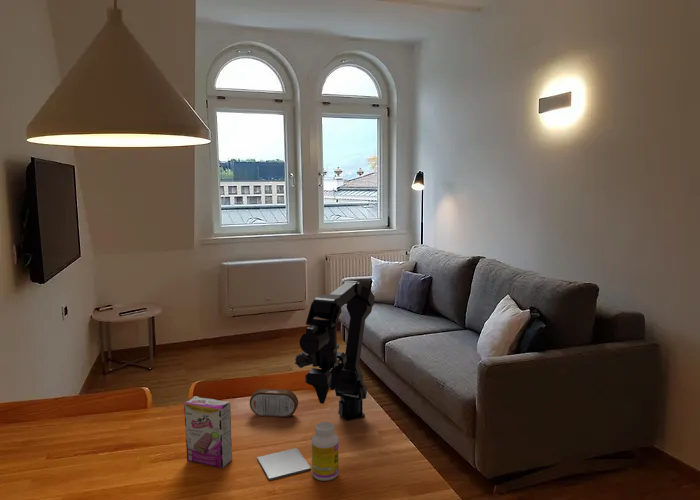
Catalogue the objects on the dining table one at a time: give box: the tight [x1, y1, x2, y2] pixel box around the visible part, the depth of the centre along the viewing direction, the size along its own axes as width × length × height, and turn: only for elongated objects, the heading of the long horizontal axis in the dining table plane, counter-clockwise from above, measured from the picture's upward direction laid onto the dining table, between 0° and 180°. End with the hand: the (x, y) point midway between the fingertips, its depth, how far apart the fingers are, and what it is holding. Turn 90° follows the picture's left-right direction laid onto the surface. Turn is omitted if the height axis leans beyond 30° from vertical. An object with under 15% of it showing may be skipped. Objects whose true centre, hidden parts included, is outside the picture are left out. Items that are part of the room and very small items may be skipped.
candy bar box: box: [183, 395, 233, 469], centre depth 138 cm, size 11×5×16 cm, turn 71°
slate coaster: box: [256, 447, 312, 481], centre depth 137 cm, size 11×11×1 cm
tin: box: [249, 388, 299, 418], centre depth 164 cm, size 15×3×8 cm, turn 84°
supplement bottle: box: [311, 421, 340, 482], centre depth 131 cm, size 7×7×13 cm
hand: (327, 396), depth 147 cm, fingers open, 9 cm apart
